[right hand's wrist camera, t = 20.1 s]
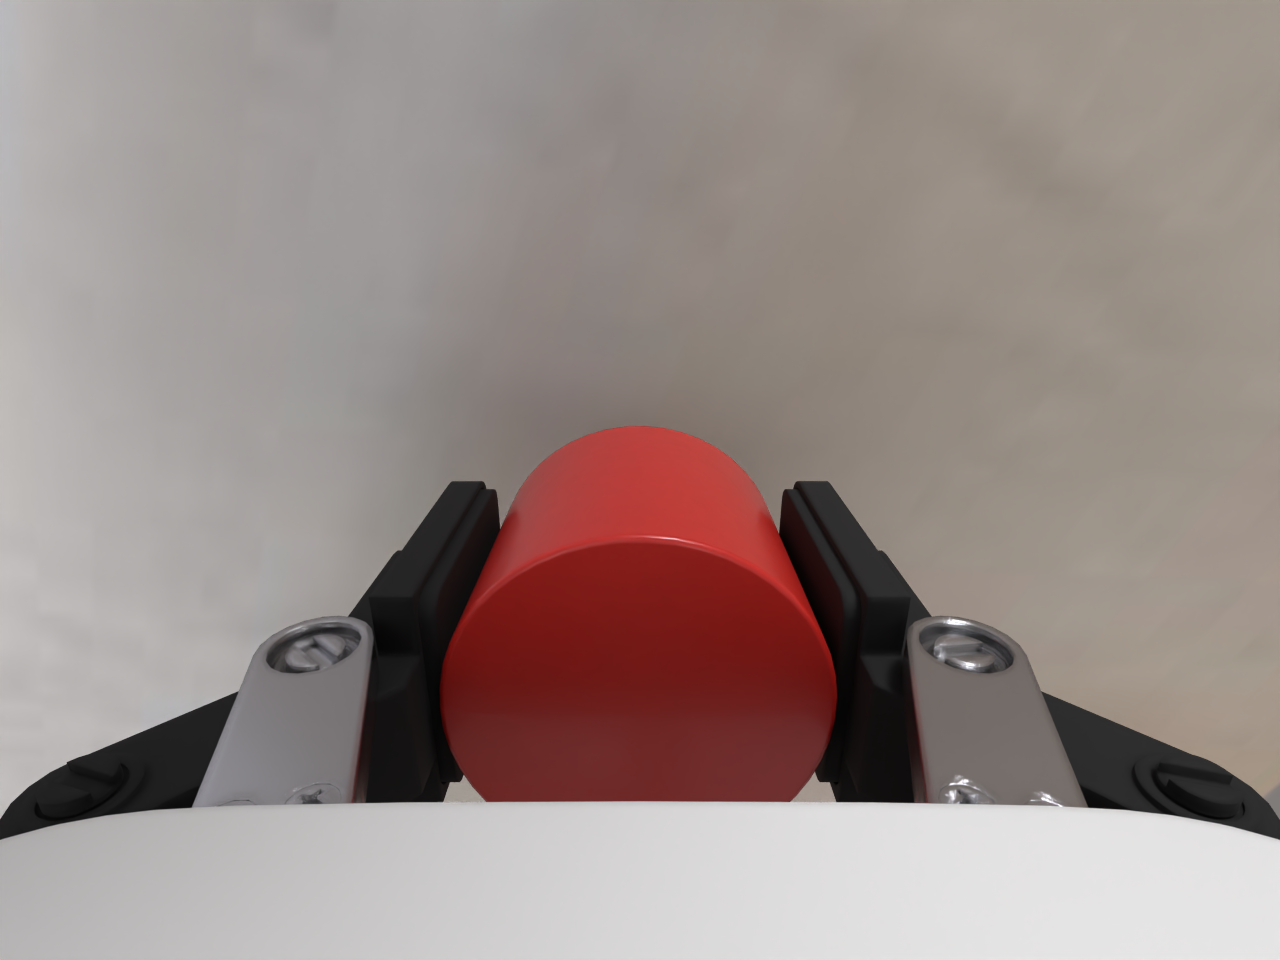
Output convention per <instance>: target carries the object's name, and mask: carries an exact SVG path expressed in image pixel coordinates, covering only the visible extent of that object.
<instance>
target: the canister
mask: <svg viewBox="0 0 1280 960" xmlns="http://www.w3.org/2000/svg"><path fill="white" fill-rule="evenodd" d="M439 706H440V712H441V718H442V724H443V730H444V733H445V736H446V739H447V742H448V745H449V748H450V750H451V752H452V754H453V756H454V758H455V760H456V762H457V764H458V766H459V768H460V770H461V771H462V773H463V774H464V775H465V777H466V778H467V780H468V781H469V783H470V784H471V785H472V787H473V788H474V789H475V790H476V791H477V792H478V793H479V794H480V795H481V797H482V798H483V799H484V800H485V801H486V802H612V801H668V802H790V801H791V800H792V799H793V798H794V797H795V796H797V794H798V793H799V792H800V791H801V789H802V788H803V787H804V786H805V785H806V783H807V782H808V781H809V780H810V778H811V777H812V775H813V773H814V772H815V770H816V768H817V767H818V765H819V764H820V762H821V760H822V758H823V755H824V753H825V751H826V748H827V746H828V744H829V741H830V737H831V733H832V730H833V726H834V722H835V716H836V706H837V685H836V674H835V670H834V665H833V661H832V657H831V653H830V651H829V648H828V646H827V644H826V641H825V639H824V636H823V634H822V631H821V629H820V627H819V625H818V622H817V620H816V618H815V615H814V613H813V611H812V609H811V606H810V604H809V602H808V599H807V597H806V595H805V593H804V590H803V588H802V586H801V583H800V581H799V579H798V577H797V574H796V572H795V570H794V567H793V565H792V563H791V561H790V558H789V556H788V554H787V551H786V549H785V547H784V545H783V542H782V540H781V538H780V535H779V533H778V531H777V529H776V526H775V524H774V522H773V519H772V517H771V515H770V512H769V510H768V508H767V506H766V503H765V501H764V499H763V497H762V495H761V494H760V492H759V490H758V488H757V487H756V485H755V483H754V482H753V481H752V480H751V479H750V477H749V476H748V475H747V474H746V472H745V471H744V470H743V469H742V468H741V467H740V466H739V465H738V464H737V463H736V462H735V461H733V460H732V459H731V458H730V457H729V456H727V455H726V454H725V453H723V452H722V451H720V450H719V449H717V448H716V447H714V446H712V445H710V444H708V443H707V442H705V441H703V440H701V439H699V438H696V437H693V436H691V435H688V434H685V433H682V432H679V431H674V430H670V429H665V428H658V427H648V426H630V427H619V428H613V429H607V430H603V431H599V432H596V433H592V434H589V435H586V436H584V437H582V438H579V439H577V440H575V441H573V442H570V443H569V444H567V445H565V446H564V447H562V448H560V449H559V450H557V451H555V452H554V453H553V454H552V455H550V456H549V457H548V458H547V459H545V460H544V461H543V462H542V463H541V464H540V465H539V466H538V467H537V468H536V469H535V470H534V471H533V472H532V473H531V474H530V475H529V476H528V478H527V479H526V481H525V482H524V483H523V485H522V486H521V488H520V489H519V491H518V493H517V495H516V497H515V499H514V501H513V503H512V505H511V507H510V509H509V511H508V513H507V516H506V518H505V520H504V522H503V525H502V527H501V529H500V531H499V533H498V536H497V538H496V540H495V542H494V545H493V547H492V549H491V551H490V553H489V556H488V558H487V560H486V562H485V565H484V567H483V569H482V571H481V574H480V576H479V578H478V580H477V582H476V585H475V587H474V589H473V591H472V594H471V596H470V598H469V600H468V602H467V605H466V607H465V609H464V611H463V614H462V616H461V618H460V620H459V622H458V625H457V627H456V629H455V631H454V634H453V636H452V638H451V640H450V643H449V646H448V649H447V652H446V655H445V658H444V661H443V664H442V671H441V677H440V683H439Z"/></svg>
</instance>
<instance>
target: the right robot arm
mask: <svg viewBox="0 0 1280 960" xmlns="http://www.w3.org/2000/svg"><path fill="white" fill-rule="evenodd" d="M499 531H500V522H499V510H498V499H497V493H496V490H494V489H486V486H485V483H484V482H482V481H452V482H451V483H450V484H449V485H448V487H447V488H446V489H445V491H444V492H443V494H442V495H441V496H440V498H439V499H438V501H437V502H436V503H435V505H434V506H433V508H432V509H431V510H430V512H429V513H428V515H427V516H426V517H425V519H424V520H423V522H422V523H421V524H420V526H419V527H418V529H417V530H416V531H415V533H414V534H413V536H412V537H411V538H410V540H409V541H408V543H407V544H406V545H405V547H404V548H403V550H402V551H397V552H396V553H395V554H393V556H392V557H391V559H390V560H389V561H388V563H387V564H386V565H385V567H384V568H383V569H382V571H381V572H380V574H379V575H378V576H377V578H376V579H375V580H374V582H373V583H372V585H371V586H370V587H369V589H368V590H367V591H366V593H365V594H364V595H363V597H362V598H361V600H360V601H359V602H358V604H357V605H356V606H355V608H354V609H353V611H352V612H351V613H350V615H349V616H348V617H345V616H330V617H320V618H315V619H311V620H306V621H303V622H300V623H297V624H295V625H292V626H289V627H287V628H285V629H283V630H281V631H279V632H278V633H276V634H274V635H272V636H271V637H270V638H268V639H267V640H266V641H265V642H264V643H262V644H261V645H260V646H259V648H258V649H257V651H256V652H255V654H254V655H253V658H252V660H251V663H250V665H249V668H248V670H247V672H246V675H245V677H244V680H243V682H242V685H241V687H240V690H239V691H238V692H236V693H233V694H231V695H229V696H226V697H224V698H222V699H219V700H217V701H214V702H212V703H210V704H207V705H205V706H202V707H200V708H198V709H195V710H193V711H191V712H188V713H186V714H183V715H181V716H179V717H176V718H174V719H172V720H169V721H167V722H164V723H162V724H160V725H157V726H155V727H153V728H150V729H148V730H145V731H143V732H141V733H138V734H136V735H134V736H131V737H129V738H126V739H124V740H122V741H119V742H117V743H115V744H112V745H110V746H107V747H105V748H103V749H100V750H98V751H96V752H93V753H91V754H88V755H85V756H82V757H78V758H76V759H74V760H71V761H69V762H67V764H66V765H64V766H62V767H60V768H58V769H56V770H54V771H52V772H50V773H49V774H47V775H46V776H44V777H43V778H41V779H40V780H38V781H37V782H35V783H34V784H32V785H31V786H29V787H28V788H27V789H26V790H25V791H24V792H23V793H22V794H21V795H19V796H18V797H17V798H16V799H15V800H14V801H13V802H12V803H11V804H10V806H9V807H8V809H7V810H6V812H5V813H4V814H3V816H2V817H1V819H0V960H1280V820H1279V818H1278V817H1277V815H1276V814H1275V812H1274V811H1273V809H1272V808H1271V806H1270V805H1269V803H1268V802H1267V801H1266V800H1264V799H1263V798H1262V797H1261V796H1260V795H1259V794H1258V793H1257V792H1256V791H1255V790H1254V789H1253V788H1252V787H1250V786H1249V785H1247V784H1246V783H1244V782H1243V781H1241V780H1240V779H1238V778H1237V777H1235V776H1234V775H1232V774H1231V773H1229V772H1228V771H1226V770H1225V769H1224V768H1222V767H1220V766H1218V765H1217V764H1215V763H1213V762H1211V761H1209V760H1206V759H1204V758H1201V757H1198V756H1195V755H1191V754H1189V753H1187V752H1184V751H1182V750H1179V749H1177V748H1175V747H1172V746H1170V745H1168V744H1165V743H1163V742H1160V741H1158V740H1156V739H1153V738H1151V737H1149V736H1146V735H1144V734H1141V733H1139V732H1137V731H1134V730H1132V729H1130V728H1127V727H1125V726H1122V725H1120V724H1118V723H1115V722H1113V721H1111V720H1108V719H1106V718H1103V717H1101V716H1099V715H1096V714H1094V713H1092V712H1089V711H1087V710H1084V709H1082V708H1080V707H1077V706H1075V705H1072V704H1070V703H1068V702H1065V701H1063V700H1061V699H1058V698H1056V697H1053V696H1051V695H1049V694H1046V693H1044V692H1042V691H1041V690H1040V687H1039V685H1038V682H1037V680H1036V677H1035V675H1034V672H1033V670H1032V668H1031V665H1030V663H1029V660H1028V658H1027V655H1026V654H1025V652H1024V651H1023V649H1022V648H1021V646H1020V645H1019V644H1018V643H1016V642H1015V641H1014V640H1013V639H1012V638H1010V637H1009V636H1008V635H1006V634H1004V633H1002V632H1001V631H999V630H997V629H995V628H993V627H991V626H988V625H985V624H983V623H980V622H977V621H974V620H969V619H965V618H960V617H950V616H935V617H932V616H931V615H930V614H929V612H928V611H927V610H926V608H925V607H924V605H923V604H922V603H921V601H920V600H919V599H918V597H917V596H916V595H915V593H914V592H913V590H912V589H911V588H910V586H909V585H908V584H907V582H906V581H905V579H904V578H903V577H902V575H901V574H900V573H899V571H898V570H897V569H896V567H895V566H894V564H893V563H892V562H891V560H890V559H889V558H888V556H887V555H886V554H885V553H884V552H883V551H878V550H877V549H876V547H875V546H874V545H873V543H872V542H871V540H870V539H869V538H868V536H867V535H866V533H865V532H864V530H863V529H862V528H861V526H860V525H859V523H858V522H857V521H856V519H855V518H854V516H853V515H852V514H851V512H850V511H849V509H848V508H847V507H846V505H845V504H844V502H843V501H842V500H841V498H840V497H839V495H838V494H837V493H836V491H835V490H834V488H833V487H832V486H831V484H830V483H829V482H828V481H797V482H796V483H795V485H794V488H793V489H785V490H784V492H783V496H782V506H781V518H780V530H779V535H780V538H781V540H782V542H783V545H784V547H785V549H786V551H787V554H788V556H789V558H790V561H791V563H792V565H793V567H794V570H795V572H796V574H797V577H798V579H799V581H800V583H801V586H802V588H803V590H804V593H805V595H806V597H807V599H808V602H809V604H810V606H811V609H812V611H813V613H814V615H815V618H816V620H817V622H818V625H819V627H820V629H821V631H822V634H823V636H824V639H825V641H826V644H827V646H828V648H829V651H830V653H831V657H832V661H833V665H834V670H835V674H836V685H837V706H836V716H835V722H834V726H833V730H832V733H831V737H830V741H829V744H828V746H827V748H826V751H825V753H824V755H823V758H822V760H821V762H820V764H819V765H818V767H817V768H816V770H815V773H816V776H817V778H818V780H819V782H830V784H831V787H832V790H833V793H834V796H835V799H836V802H668V801H612V802H443V801H444V798H445V795H446V792H447V789H448V786H449V783H450V782H460V781H461V780H462V778H463V775H464V774H463V773H462V771H461V770H460V768H459V766H458V764H457V762H456V760H455V758H454V756H453V754H452V752H451V750H450V748H449V745H448V742H447V739H446V736H445V733H444V730H443V724H442V718H441V712H440V706H439V683H440V677H441V671H442V664H443V661H444V658H445V655H446V652H447V649H448V646H449V643H450V640H451V638H452V636H453V634H454V631H455V629H456V627H457V625H458V622H459V620H460V618H461V616H462V614H463V611H464V609H465V607H466V605H467V602H468V600H469V598H470V596H471V594H472V591H473V589H474V587H475V585H476V582H477V580H478V578H479V576H480V574H481V571H482V569H483V567H484V565H485V562H486V560H487V558H488V556H489V553H490V551H491V549H492V547H493V545H494V542H495V540H496V538H497V536H498V533H499Z"/></svg>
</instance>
